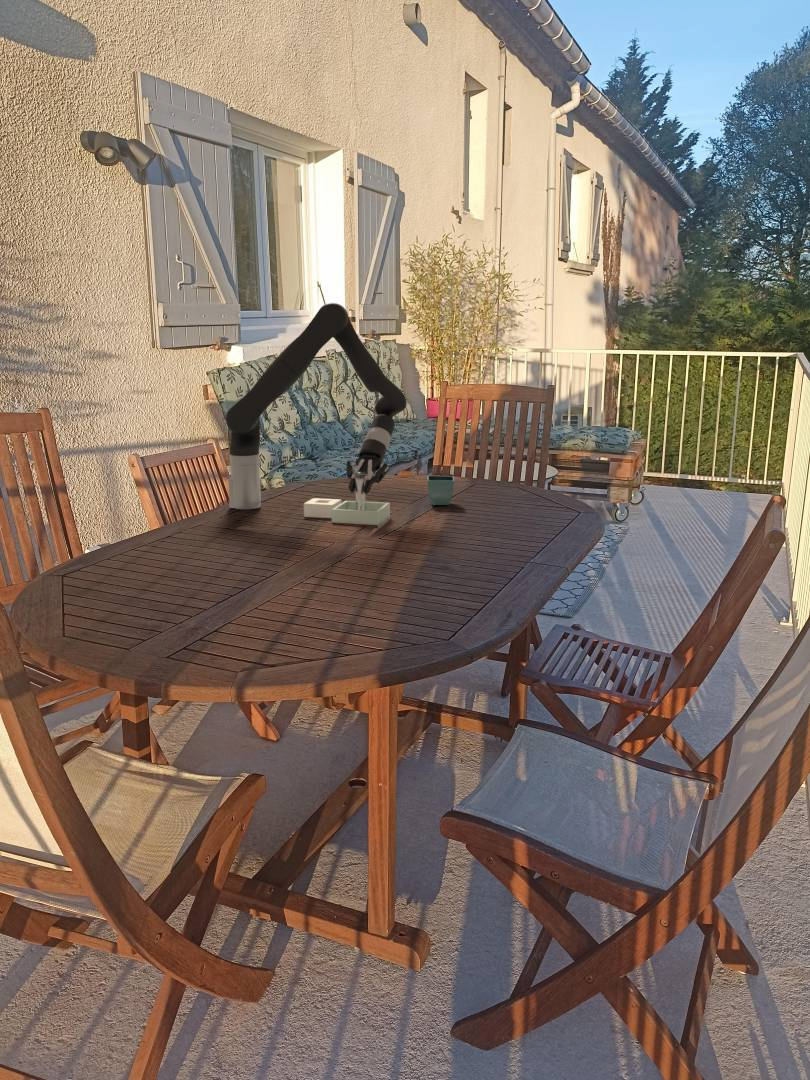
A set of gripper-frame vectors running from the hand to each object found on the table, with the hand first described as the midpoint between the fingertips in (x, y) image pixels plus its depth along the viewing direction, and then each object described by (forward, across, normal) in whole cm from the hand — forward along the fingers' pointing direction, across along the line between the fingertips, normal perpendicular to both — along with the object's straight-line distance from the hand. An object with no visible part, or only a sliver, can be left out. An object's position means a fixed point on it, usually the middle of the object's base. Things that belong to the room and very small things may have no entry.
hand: (358, 491), depth 247 cm
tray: (+5, 0, +8) cm, 10 cm away
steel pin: (+5, 0, +8) cm, 9 cm away
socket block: (+5, -13, +9) cm, 17 cm away
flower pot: (-19, +12, +33) cm, 40 cm away
